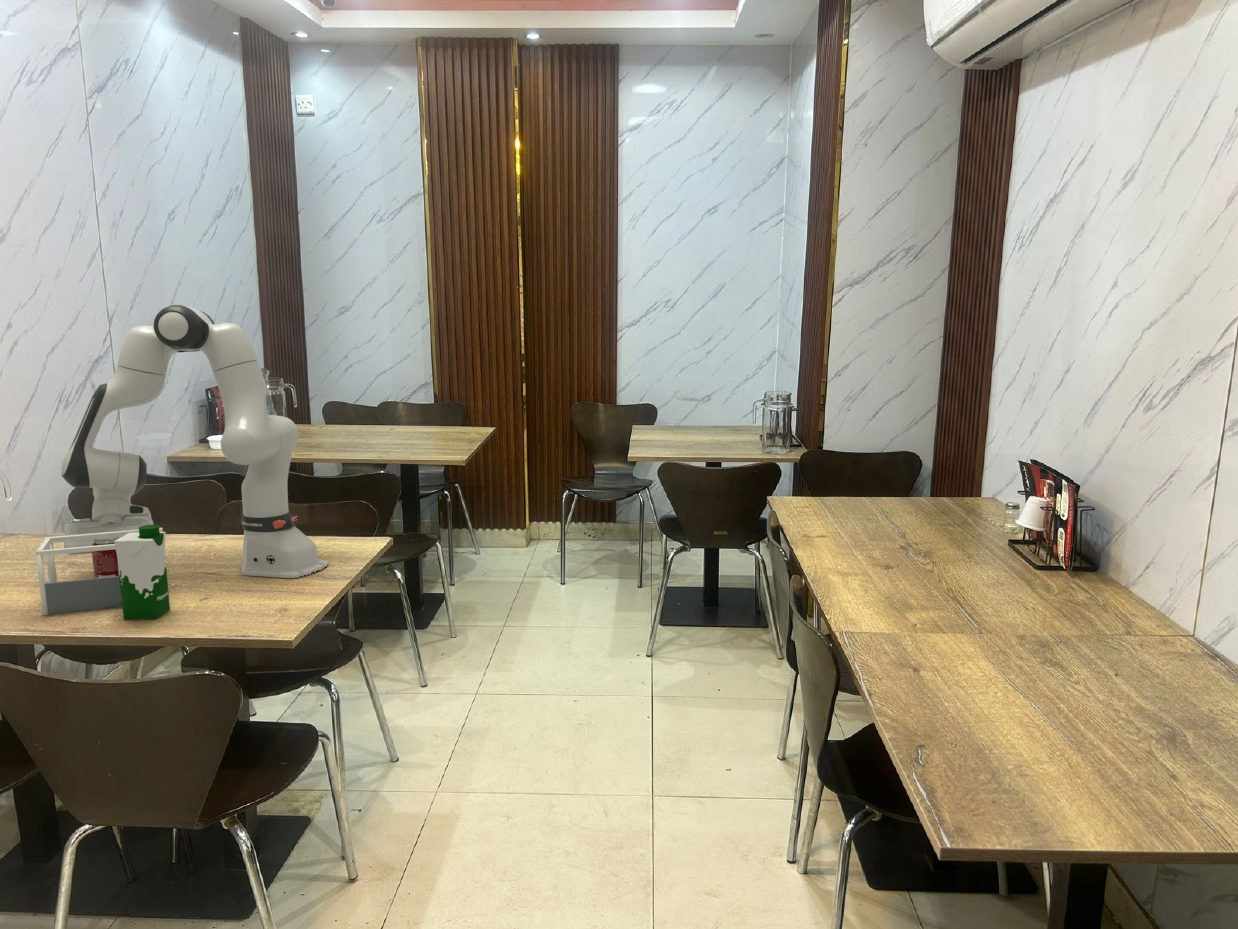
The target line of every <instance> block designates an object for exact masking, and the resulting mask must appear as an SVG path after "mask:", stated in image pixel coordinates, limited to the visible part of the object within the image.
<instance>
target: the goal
mask: <svg viewBox="0 0 1238 929" xmlns="http://www.w3.org/2000/svg"><path fill="white" fill-rule="evenodd" d="M163 529H164V528H163V527H159V530H160V532H164V530H163ZM136 532H139V530H128V531H116V532H104V533H92V534H80V535H68V536H65V535H57V536H48V537H46V536H45V537H44V538H43V542H42V543H41V544H40V545H39V547H38V548H37V549H36V551H35V559H36V567H37V576H38V583H39V592H40V604H41V610H42V615H43V616H49V615H56V614H65V613H74V612H83V611H84V612H85V611H92V610H93V611H94V610H102V609H109V608H118V607H121V608H122V600H121V590H120V580H119V576H113V577H103V578H95V577H92V578H85V579H84V578H83V579H73V580H65V581H58V579H57V578H58V577H57V569H56V560H55V558H56V557H55V555H65V554H67V555H69V554H68V553H79V552H90V551H102V550H113V549H116V548H115V544H108V545H97V546H86V547H74V548H64V547H63V548H54V544H57V543H64V542H70V541H82V540H94V539H105V538H117V537H123V536H124V535H126V534H128V533H136ZM43 556H44V557H45V559H46V568H47V577H48V582H46V574H45V573H46V572H45V566H44V557H43Z"/></svg>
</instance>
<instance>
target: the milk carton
mask: <svg viewBox="0 0 1238 929" xmlns="http://www.w3.org/2000/svg"><path fill="white" fill-rule="evenodd" d="M159 528H160V525H159V524H154V525H145V526H141V527H139V532H136V533H128V534H126V535H124V536H123V537H121V538H119V539H117V540H115V541H114V544H115V548H116V553H117V559H118V569H119V580H120V590H121V600H122V606H121V608H122V617H123V621H130V620H131V621H136V620H138V621H139V620H141V621H142V620H157V619H159V618H160V617H161V616H163V615H164V614H165V613H167V611H169V610H170V609H171V606H170V604H171V603H170V594H169V593H170V592H169V583H168V582H169V580H168V572H167V571H168V570H167V561H166V560H167V559H166V531H163V532H160V530H159Z"/></svg>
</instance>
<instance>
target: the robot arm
mask: <svg viewBox="0 0 1238 929" xmlns="http://www.w3.org/2000/svg"><path fill="white" fill-rule="evenodd" d="M254 350H255V349H254V347H253V346H252V344H251V341H250V340H249V338H248V336H247V335H246V333H245V331H244V329H243V328H242V327H241V326H240V325H238V324H235V323H231V322H223V323H218V324H215V322H214V320H213V319H212V318H211V316H209V314H207V313H205V312H204V311H202V310H199V309H197V308H195V307H193V306H188V305H182V304H172V305H169V306H165V307H164V308H162V309H160V310H159V312H158V313H157V314H156V316H155V318H154V320H153V325H152V326H150V325H137V326H134V327H132V328H131V329H129V331H128V333H127V335H126V336H125V339H124V342H123V345H122V347H121V351H120V354H119V357H118V361H117V366H116V370H115V372H114V373H113V376H112V377H111V378H110V379H109V380H108V381H107V382H106V383H102V384H99V385H98V387H97V388H96V390H95V391H94V392H93V394H92V396H91V399H90V401H89V403H88V405H87V408H86V410H85V412H84V415H83V417H82V419H81V422H80V424H79V427H78V430H77V432H76V433H75V437H74V438H73V441H72V443H71V446H70V448H69V449H68V451H67V453H66V454H65V456H64V458H63V460H62V462H61V463H62V464H61V477H62V478H63V480H64V481H65V482H67V484H68V485H70V486H71V487H73V488H78V489H79V488H85V489H89V488H91V489H92V495H93V497H94V499H93V500H94V501H93V503H92V508H91V513H92V514H91V518H89V517H87V518H82V519H81V518H79V519H77V518H76V519H75V518H74V519H71V521H68V522H67V523H65V525H64V527H63V530H64V531H63V532H64V536H68V535H80V534H92V533H104V532H116V531H128V530H139V527H141V526H145V525H155V524H154V521H153V519H152V514H151V511H150V509H149V507H147V506H143V505H142V506H141V505H138V504H137V505H136V504H132V502H131V498H132V496H135V495H137V494H138V493H139V492H140V491H141V490H142V489H143V488H145V486H146V484H147V475H148V474H147V473H148V472H147V469H148V468H147V462H145V460H144V459H143V457H142V456H141V455H139V454H136V453H130V452H126V451H125V452H124V451H114V450H106V449H99V448H95V447H94V443H95V441H96V439H97V436H98V434H99V431H100V429H101V427H102V424H103V422H104V420H105V419H106V417H107V416H108V415H109V414H110V413H112V412H115V411H118V410H123V409H128V408H134V407H140V406H144V405H147V404H149V403H152V402H153V401H155V400H156V399H157V398H158V397H159V396H160V395H161V394H162V391H163V389H164V386H165V382H166V376H167V374H168V373H167V372H168V368H169V367H168V366H169V362H170V360H171V358H172V356H173V355H174V354H175V353H191V352H192V353H194V352H200V351H201V352H202V353H203V354H205V356H206V358H207V360H208V362H209V365H210V367H211V370H212V373H213V377H214V379H215V383H216V384H217V388H218V391H219V393H220V397H221V400H222V406H223V412H224V413H223V414H224V431H223V434H222V435H221V436H222V437H221V439H220V449H221V452H222V454H223V456H224V457H225V459H226V460H227V461H229V463H230V462H231V463H232V464H235V465H242V466H247V467H248V469H247V472H246V475H245V477H244V479H243V481H242V483H241V499H242V500H241V501H242V502H241V503H242V514H241V528H242V529H243V543H242V558H241V562H240V563H241V564H240V566H239V567H240V575H242V576H251V577H253V576H254V577H264V578H265V577H267V578H279V579H280V578H282V579H284V578H285V579H296V578H301V577H300V576H302V577H304V576H303V575H306V576H309V575H312V574H313V573H312V572H315V573H317V572H316V571H318V570H319V569H321V568H324V567H325V566H326V565H328V566H329V561H328V560H325V559H321V558H319V553H318V552H319V551H318V547H317V545H316V543H315V542H314V541H313V540H312V539H310V538H309V537H308V536H307V535H305V533H303V531H301V530H300V529H299V528H297V526H296V523H295V522H296V521H298V519H297V518H298V515H295V516H292V513H291V511H290V510H289V497H288V496H289V492H288V479H289V471H290V466H291V461H292V454H293V452H294V449H295V447H296V445H297V443H298V441H299V430H298V427H297V425H296V424H295V422H294V421H293V420H292V419H290V418H289V417H286V416H282V415H275V414H272V415H271V414H270V415H267V413H266V397H267V393H268V386H267V383H266V381H265V378H264V375H263V371H262V370H261V366H260V363H259V360H258V358H257V355H256V353H255V351H254ZM119 538H121V537H119ZM93 543H94V541H93V540H82V541H70V542H63V548H74V547H86V546H92V545H93ZM85 554H86V555H87V554H92V551H90V552H79V553H68V554H67V555H69V556H74V555H75V556H76V555H85ZM324 569H325V568H324ZM318 572H319V571H318ZM311 573H312V574H311ZM308 574H309V575H308Z"/></svg>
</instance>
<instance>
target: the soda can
mask: <svg viewBox="0 0 1238 929" xmlns="http://www.w3.org/2000/svg"><path fill="white" fill-rule="evenodd" d="M117 539H119V537H117V538H105V539H94V540H93V541H94V543H93V545H92V546H97V545H108V544H114V541H115V540H117ZM91 557H92V564H93V572H94V578H103V577H113V576H119V569H118V559H117V553H116V549H113V550H102V551H92V553H91Z"/></svg>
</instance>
